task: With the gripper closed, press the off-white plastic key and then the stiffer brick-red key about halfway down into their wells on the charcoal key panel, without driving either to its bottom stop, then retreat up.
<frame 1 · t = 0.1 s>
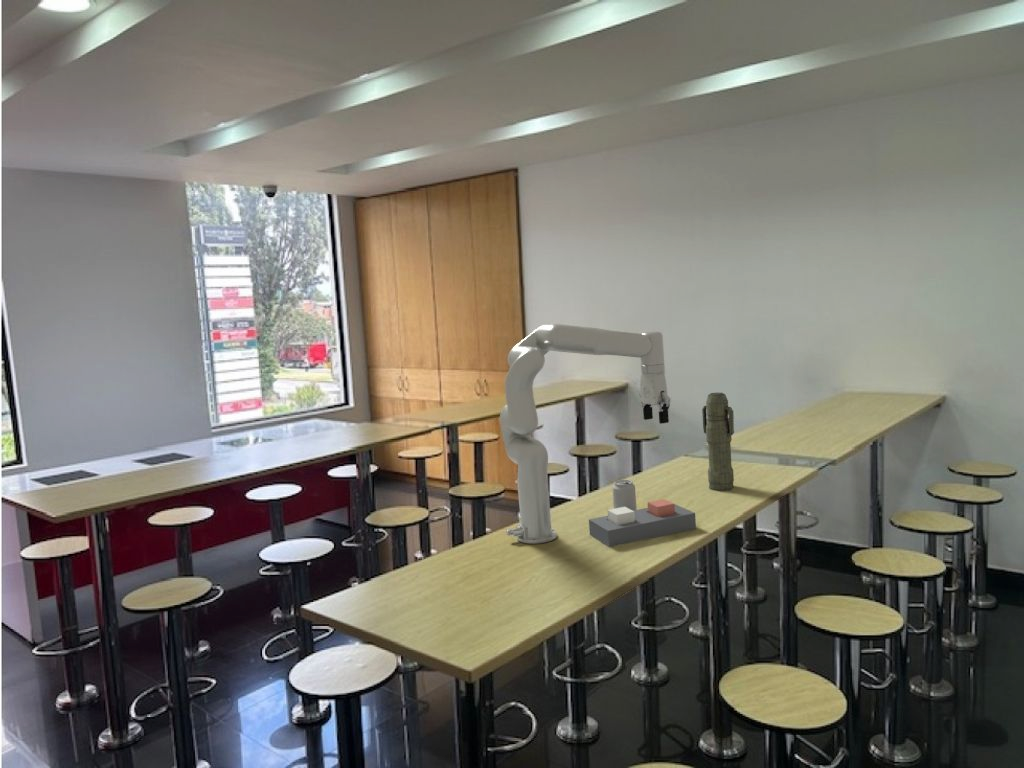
hand: (656, 421, 237), 31 cm above the table, tool pointing down, fingers open, 9 cm apart
white key: (621, 517, 220), point 6 cm above the table, slide at 0.0 cm
key panel: (642, 531, 223), on the table
thermos: (721, 488, 264), on the table
red key: (661, 509, 224), point 6 cm above the table, slide at 0.0 cm
can: (625, 517, 239), on the table
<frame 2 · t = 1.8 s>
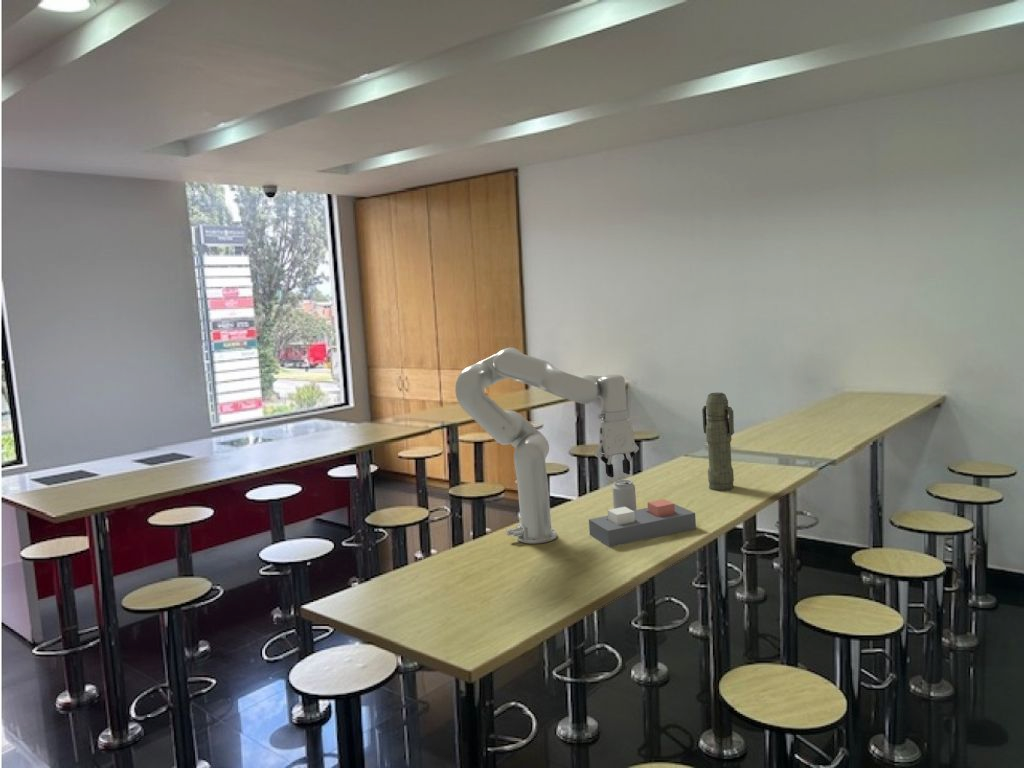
hand: (618, 474, 218), 19 cm above the table, tool pointing down, fingers open, 4 cm apart
nothing on the table moved.
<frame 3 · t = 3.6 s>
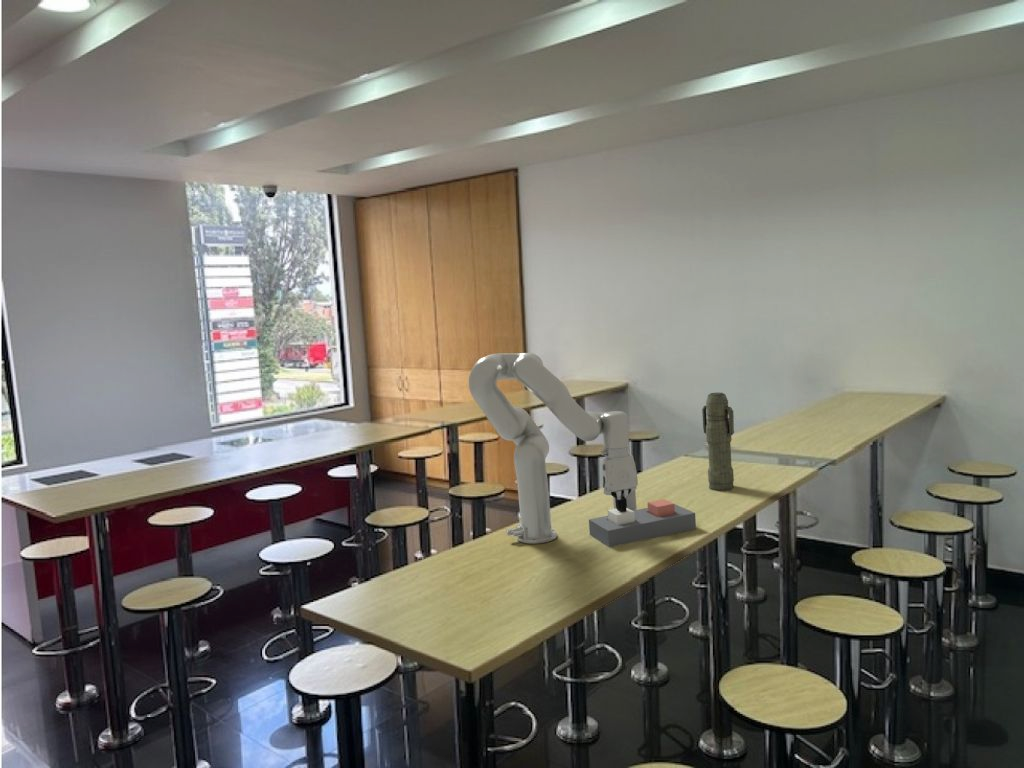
hand: (621, 510, 220), 8 cm above the table, tool pointing down, fingers closed
white key: (621, 517, 220), point 6 cm above the table, slide at 0.1 cm, touching gripper
everything else where it was.
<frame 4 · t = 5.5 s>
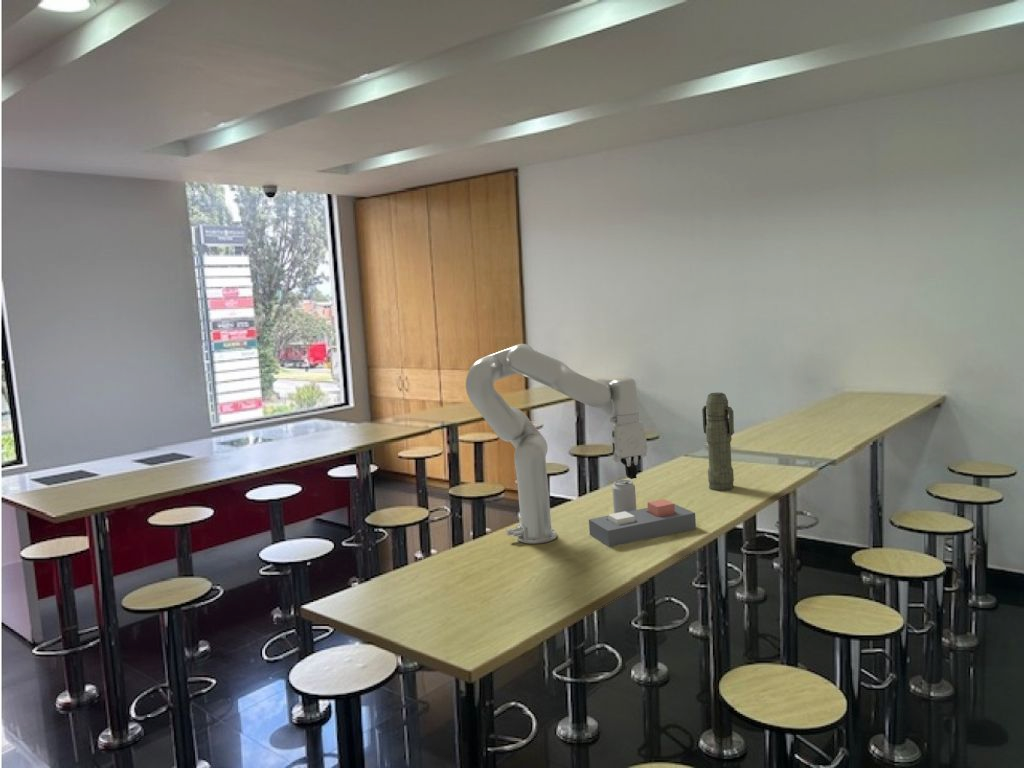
hand: (631, 477, 220), 18 cm above the table, tool pointing down, fingers closed
white key: (621, 521, 220), point 5 cm above the table, slide at 1.5 cm
everything else where it was.
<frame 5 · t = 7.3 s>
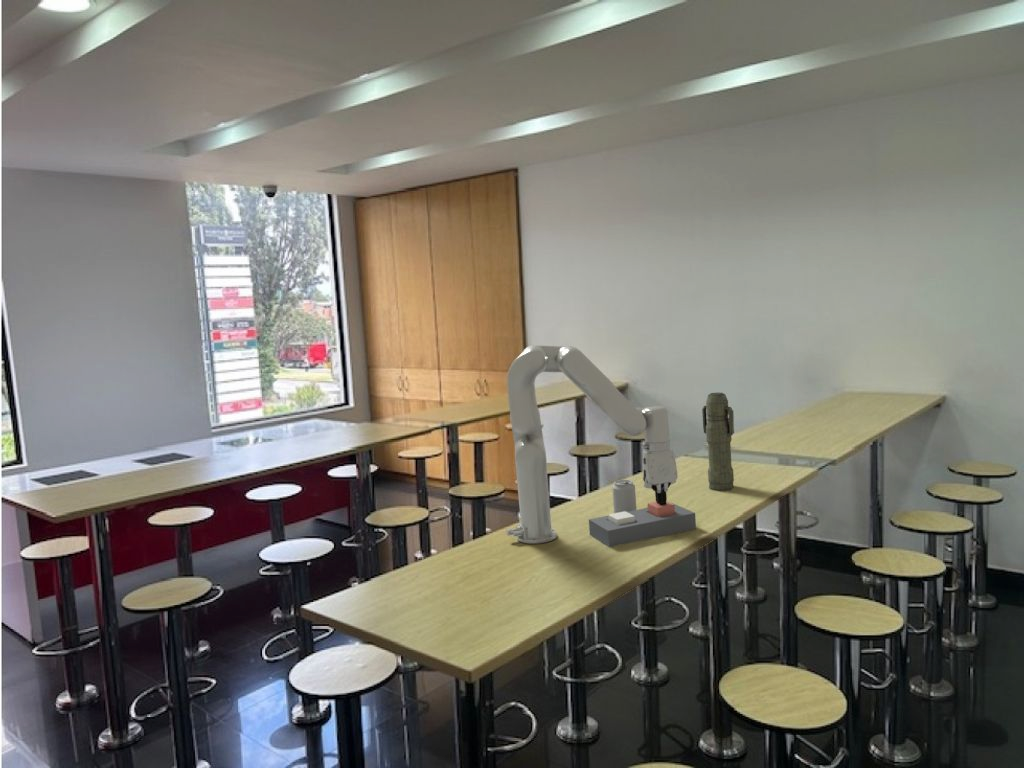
hand: (661, 503, 224), 8 cm above the table, tool pointing down, fingers closed
red key: (661, 510, 224), point 6 cm above the table, slide at 0.3 cm, touching gripper
everything else where it was.
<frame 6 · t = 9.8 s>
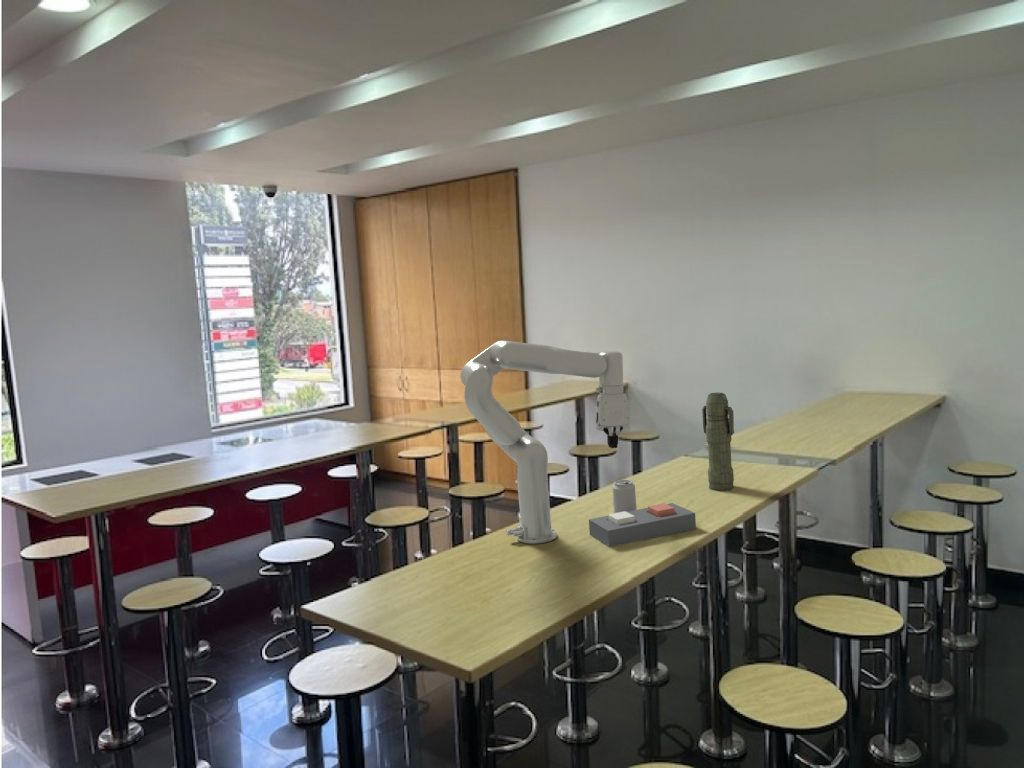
hand: (612, 447, 230), 25 cm above the table, tool pointing down, fingers closed
red key: (661, 513, 225), point 5 cm above the table, slide at 1.3 cm
everything else where it was.
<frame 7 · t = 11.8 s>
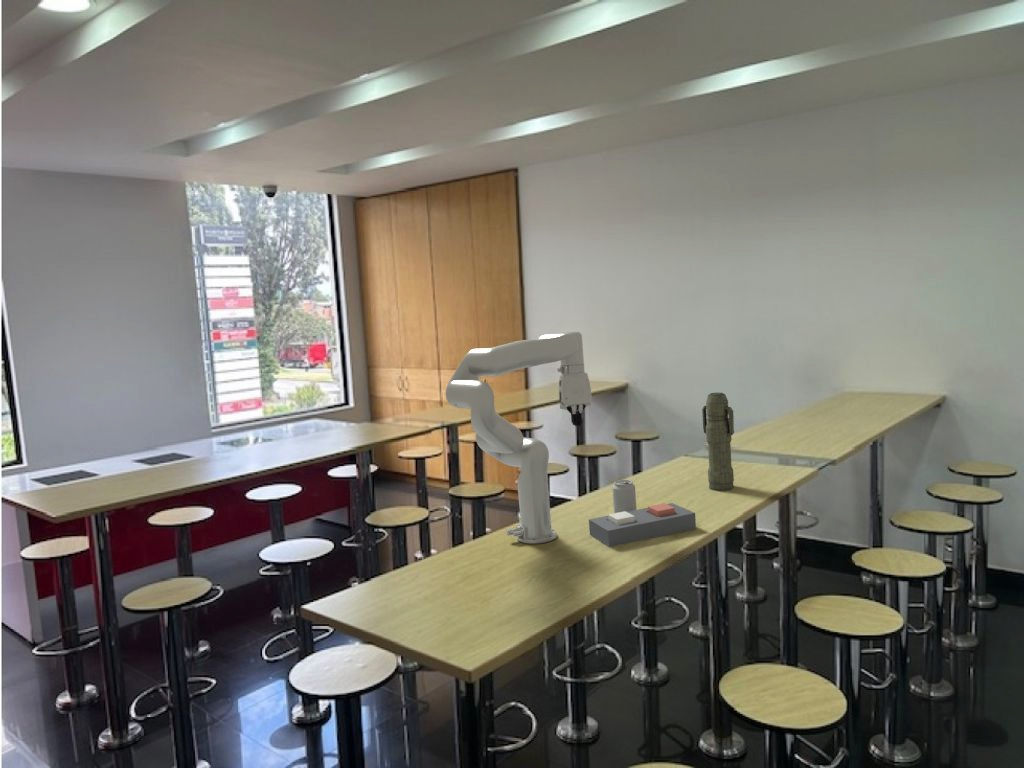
hand: (576, 425, 236), 32 cm above the table, tool pointing down, fingers closed
nothing on the table moved.
at the end: white key slide at 1.5 cm; red key slide at 1.3 cm; can moved 0.2 cm from its start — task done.
